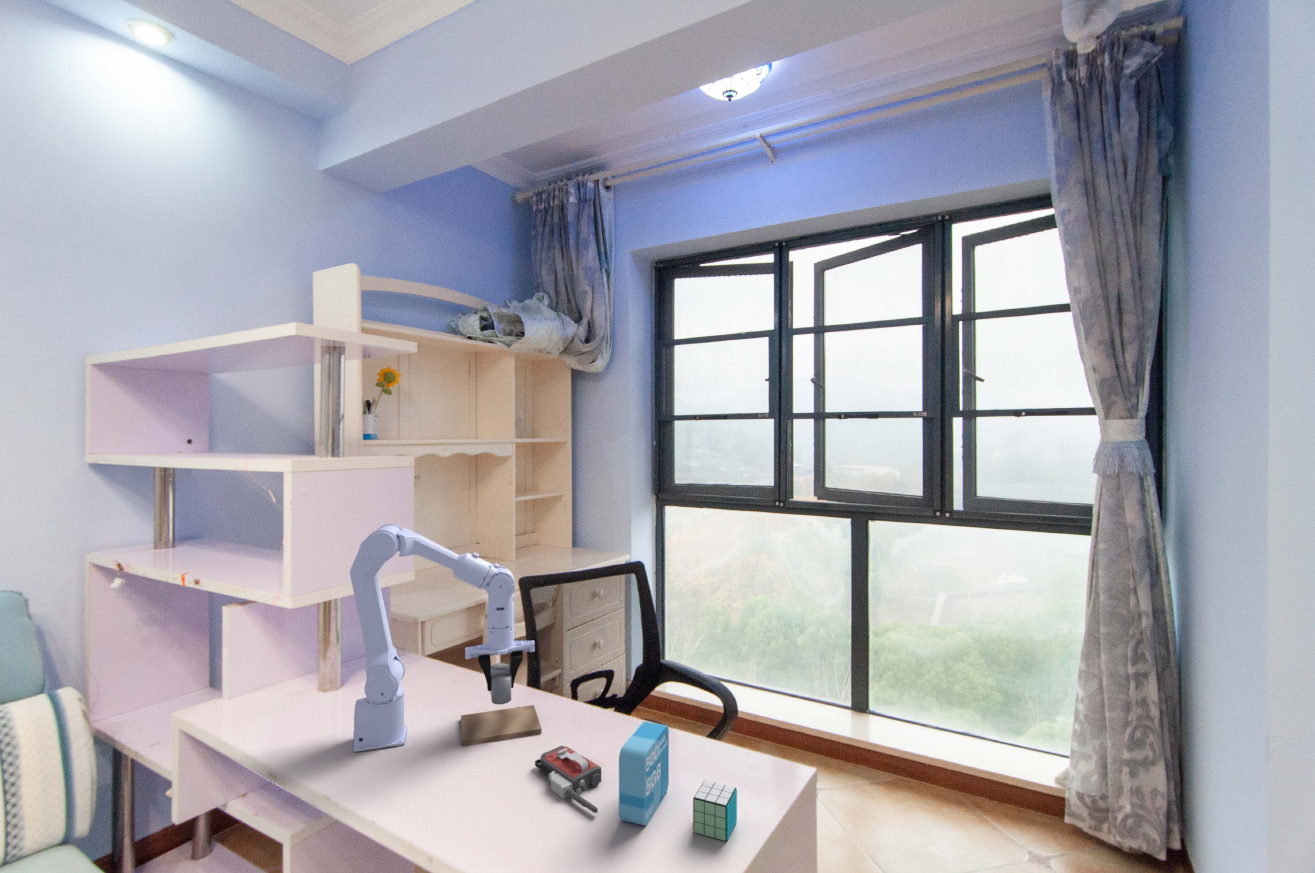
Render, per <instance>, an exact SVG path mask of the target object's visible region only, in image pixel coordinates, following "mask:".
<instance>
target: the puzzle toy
mask: <svg viewBox="0 0 1315 873" xmlns="http://www.w3.org/2000/svg"><path fill="white" fill-rule="evenodd" d="M737 793H738V789H737V787H735V786H732V785H729V784H728V785H726V784H723V783H718V782H715V781H711V780H707V779H705V780H704V781H703V782H702V783H701V785H700V786H699V788H698V790H697V791H696V793H695V794H694V796H693V798H692V799H693V800H692V832H693V833H695V834H699V835H701V836H704V837H709V838H712V839H716V840H719V841H723V842H727V841H728V840H729V838H730V836H731V834H732V832H733V830H734V827H735V826H736V823H737V821H738V819H737V818H738V817H737V816H738V815H737V812H738V810H737V809H738V800H737V799H738V794H737Z"/></svg>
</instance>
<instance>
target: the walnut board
mask: <svg viewBox="0 0 1315 873" xmlns="http://www.w3.org/2000/svg"><path fill="white" fill-rule="evenodd" d="M460 724H461V725H460V727H461V729H460V730H461V732H460V733H461V746H462V747H463V746H465V747H466V746H471V745H475V744H482V743H483V744H484V743H488V742H489V743H490V742H494V741H495V742H496V741H501V740H502V741H503V740H507V739H515V738H520V737H521V738H522V737H526V736H534V735H541V734H542V726H541V723H540V720H539V716H538V713H537V710H536V707H535V705H534V704H531V705H524V706H517V707H509V708H504V709H503V708H501V709H496V710H490V711H489V710H488V711H483V712H476V713H475V712H474V713H469V714H462V715H460Z"/></svg>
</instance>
